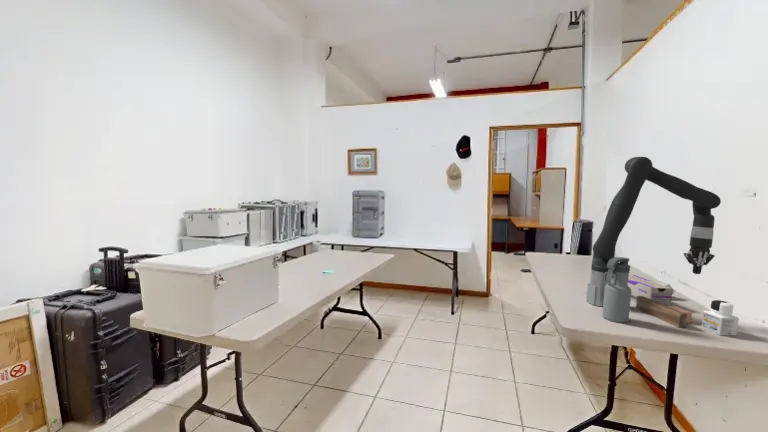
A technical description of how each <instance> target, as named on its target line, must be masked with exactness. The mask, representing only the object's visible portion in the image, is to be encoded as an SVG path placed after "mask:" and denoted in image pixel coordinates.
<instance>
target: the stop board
mask: <svg viewBox="0 0 768 432" xmlns="http://www.w3.org/2000/svg"><path fill="white" fill-rule="evenodd" d="M635 303H636V304H635V308H636V309H638V310H640V311H643V312H645V313H647V314H650V315H651V316H653V317H655V318H656V319H659V320H661V321H664V322H666V323H668V324H669V325H672V326H674V327H676V328H678V329H679V328H680V329H683V328H684V329H685V328H686V325H687V323H686V319H687V314H685V313H683V312H680V311H678V310H675V309H673V308H671V307H668V306H666V305H663V304H661V303H659V302H656V301H654V300H651V299H649V298H647V297H644V296H637V302H635Z"/></svg>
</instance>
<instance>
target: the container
mask: <svg viewBox="0 0 768 432" xmlns="http://www.w3.org/2000/svg"><path fill="white" fill-rule="evenodd" d="M733 309H734V305H733V304H732V303H731V302H728V301H724V300H720V299H719V300H711V304H710V310H703V314H702V322H701V328H702V329H703V330H706V331H708V332H710V333H713V334H715V335H718V336H737V333H738V325H739V320H740V319H739V316H735V315H733V311H734V310H733Z"/></svg>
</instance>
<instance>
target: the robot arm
mask: <svg viewBox="0 0 768 432" xmlns="http://www.w3.org/2000/svg"><path fill="white" fill-rule="evenodd" d="M624 170H625V172H626V173H627V175H626V177H625V180H624V182H623V185H622V186H621V188H620V189H619V190H618V192H616V194H615V196H614V198H613V199H612V200H611V202H610V205H609V208H608V210H607V213H606V217H605V220H604V222H603V226H602V227H603V228H602V230H601V232H600V234H599V235H598V238H597V239H596V241H595V242H594V244H593V245H592V252H593V253H592V262H591V268H590V278H589V283H587V291H586V301H585V302H587V303H588V304H590V305H592V306H596V307H597V306H598V307H602V308H603V303H604V294H605V286H606V285H607V284H608V283H605V282H604V275H605V272H608V269H609V268H607V263H608V261H609V260H610V259H612V258H614V257H616V255H615V254H616V246H617V243H618V242H617V241H618V239H619V236H620V235H621V233H622V231H623V229H624V228H625V226H626V225H627V223H628V221H629V219H630V217H631V215H632V213H633V210H634V207H635V205H636V202H637V201H638V198H639V195H640V192H641V190H642V188H643V186H644V184H645V183H646V181H648V182H650V183H653V184H654V185H657V186H659V187H660V188H662V189H664V190H665V191H668V192H670V193H671V194H674V195H676V196H678V197H679V198H681V199H684V200H688V201H691V202H692V212H693V221H692V228H691V229H690V237H689V244H688V245H689V246H690V248H689V251H687V252H684V253H683V256H684V257H685V259H686V260H687V262H688V264H691V265H692V273H693V274H695V275H701V273H702V269H703V267H704V266H707V265H708V264H709V263H710V262H711V261H712V260H713V259H714V258H715V257H716V255H715V254H712V253H711V250H710V249H712V246H713V241H714V240H713V239H714V231H715V230H714V227H715V216H714V215H713V214H712V210H713V209H716V208H718V207H719V206H720V204H721V203H722V202H721V201H722V200H721V198H720V196H719V195H717V193H715V192H712V191H709V190H707V189H704V188H701V187H698V186H696V185H694V184H693V183H690V182H688V181H686V180H684V179H682V178H680V177H677V176H674V175H671V174H669V173H666V172H664V171H662V170H660V169H658V168H656V167H654V166H653V162H652V160H651V159H650V158H648V157H646V156H634V157H631V158H629V159H628V160H626V162H625V164H624ZM610 277H611V274H609V273H607V277H606V280H607V282H609V283H610Z"/></svg>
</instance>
